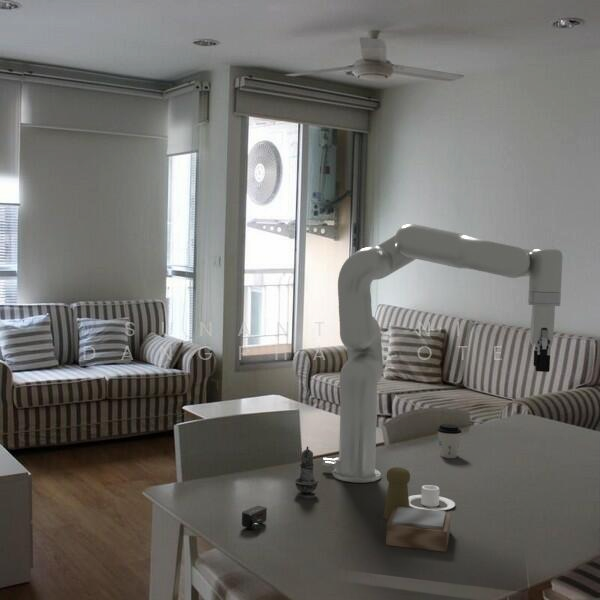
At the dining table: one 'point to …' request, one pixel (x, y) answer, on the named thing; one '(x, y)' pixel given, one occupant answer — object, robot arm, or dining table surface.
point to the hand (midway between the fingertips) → (541, 368)
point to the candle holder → (431, 498)
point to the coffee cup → (448, 440)
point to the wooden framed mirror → (418, 528)
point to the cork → (396, 490)
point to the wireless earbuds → (254, 517)
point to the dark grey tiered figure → (306, 477)
